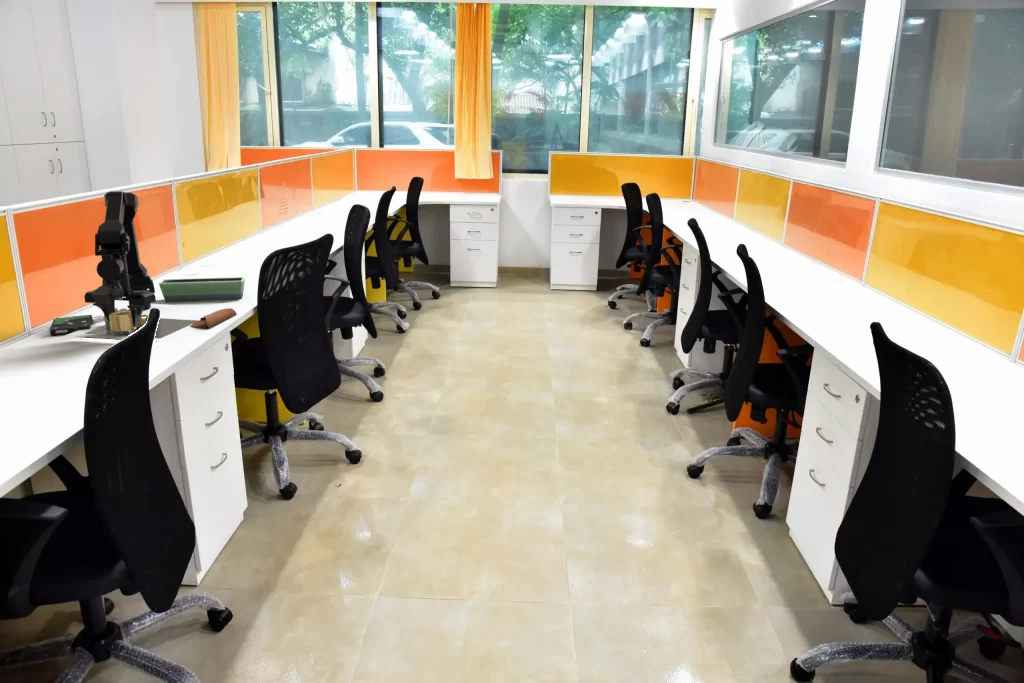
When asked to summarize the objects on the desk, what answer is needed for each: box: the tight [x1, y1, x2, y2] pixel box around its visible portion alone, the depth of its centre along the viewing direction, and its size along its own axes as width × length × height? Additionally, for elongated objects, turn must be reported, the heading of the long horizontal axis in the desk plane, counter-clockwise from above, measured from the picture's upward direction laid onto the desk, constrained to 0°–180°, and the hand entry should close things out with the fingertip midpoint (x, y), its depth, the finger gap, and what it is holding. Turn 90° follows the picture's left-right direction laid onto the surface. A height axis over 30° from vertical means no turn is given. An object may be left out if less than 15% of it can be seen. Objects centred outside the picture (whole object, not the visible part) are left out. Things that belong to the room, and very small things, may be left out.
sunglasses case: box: [189, 307, 237, 330], centre depth 224 cm, size 18×7×7 cm
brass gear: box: [109, 311, 138, 332], centre depth 209 cm, size 7×7×4 cm
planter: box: [159, 276, 246, 303], centre depth 256 cm, size 28×7×7 cm, turn 103°
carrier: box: [84, 307, 199, 343], centre depth 216 cm, size 20×24×6 cm
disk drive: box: [49, 314, 94, 337], centre depth 218 cm, size 10×3×15 cm
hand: (124, 326), depth 209 cm, fingers closed on brass gear, 7 cm apart
